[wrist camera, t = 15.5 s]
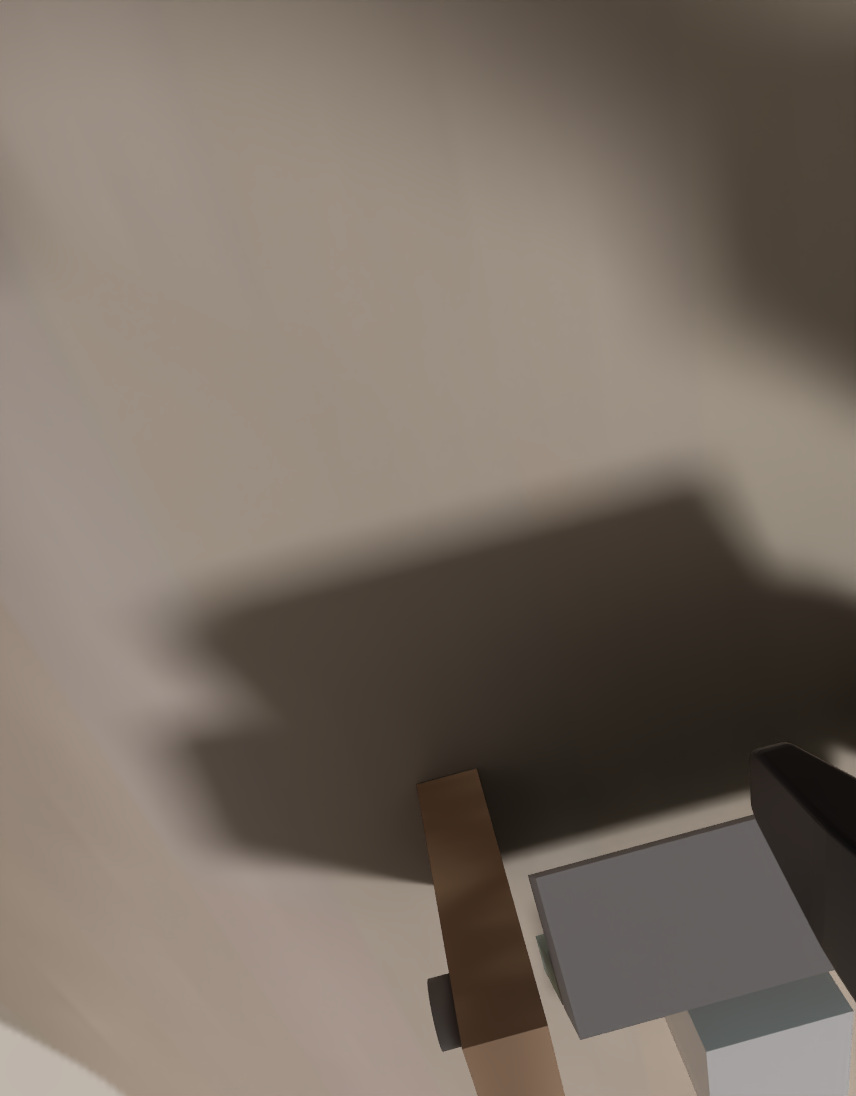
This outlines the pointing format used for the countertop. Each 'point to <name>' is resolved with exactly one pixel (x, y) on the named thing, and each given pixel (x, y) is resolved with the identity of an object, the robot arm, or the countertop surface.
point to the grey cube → (769, 1041)
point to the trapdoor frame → (482, 949)
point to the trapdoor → (671, 927)
